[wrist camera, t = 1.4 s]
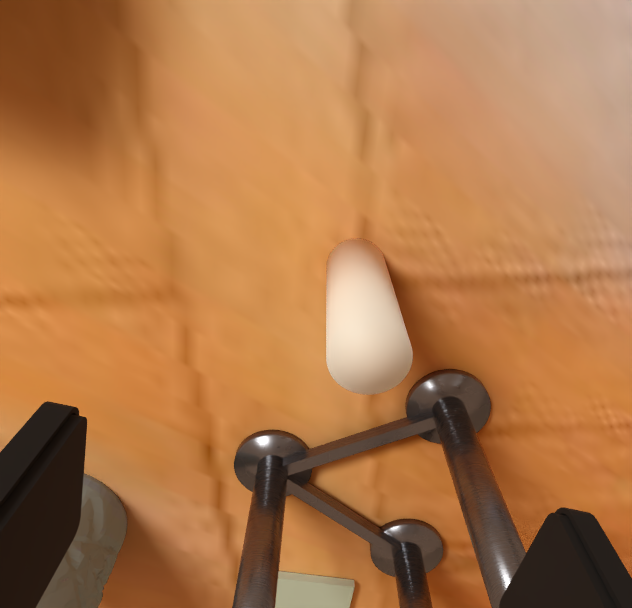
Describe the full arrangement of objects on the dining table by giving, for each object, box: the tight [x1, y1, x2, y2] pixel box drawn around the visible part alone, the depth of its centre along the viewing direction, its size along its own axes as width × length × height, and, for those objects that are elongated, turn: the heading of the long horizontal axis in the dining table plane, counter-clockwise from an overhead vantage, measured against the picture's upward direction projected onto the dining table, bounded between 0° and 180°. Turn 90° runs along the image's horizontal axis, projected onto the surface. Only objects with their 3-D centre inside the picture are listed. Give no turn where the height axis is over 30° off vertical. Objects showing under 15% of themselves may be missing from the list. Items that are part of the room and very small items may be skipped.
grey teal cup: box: [36, 474, 127, 608], centre depth 31 cm, size 10×10×12 cm
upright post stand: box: [232, 369, 526, 608], centre depth 27 cm, size 15×17×15 cm
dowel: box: [326, 239, 413, 395], centre depth 24 cm, size 3×3×10 cm
